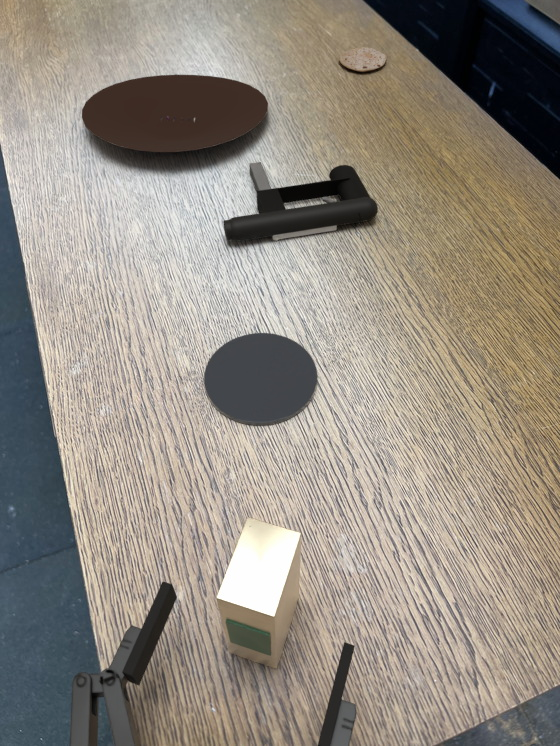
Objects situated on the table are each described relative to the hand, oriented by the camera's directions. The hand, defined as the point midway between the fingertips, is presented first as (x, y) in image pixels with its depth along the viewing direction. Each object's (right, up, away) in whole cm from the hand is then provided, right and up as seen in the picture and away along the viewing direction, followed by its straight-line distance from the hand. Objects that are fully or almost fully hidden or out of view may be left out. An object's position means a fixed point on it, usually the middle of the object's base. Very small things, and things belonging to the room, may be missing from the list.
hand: (256, 617), depth 47 cm
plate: (-14, +57, +54) cm, 79 cm away
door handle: (+3, +40, +41) cm, 57 cm away
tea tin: (0, -3, +7) cm, 7 cm away
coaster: (0, +17, +22) cm, 28 cm away
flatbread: (+16, +71, +64) cm, 97 cm away
